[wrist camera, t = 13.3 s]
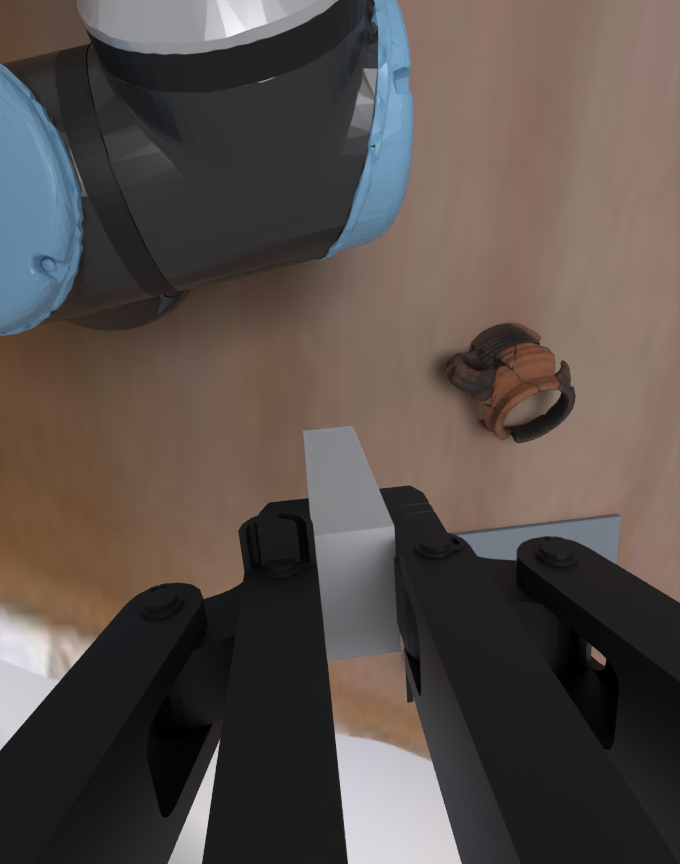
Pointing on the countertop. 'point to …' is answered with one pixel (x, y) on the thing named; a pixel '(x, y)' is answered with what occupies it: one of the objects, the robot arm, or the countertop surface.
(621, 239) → the countertop surface
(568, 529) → the slate mat
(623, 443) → the countertop surface
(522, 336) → the pottery mug
